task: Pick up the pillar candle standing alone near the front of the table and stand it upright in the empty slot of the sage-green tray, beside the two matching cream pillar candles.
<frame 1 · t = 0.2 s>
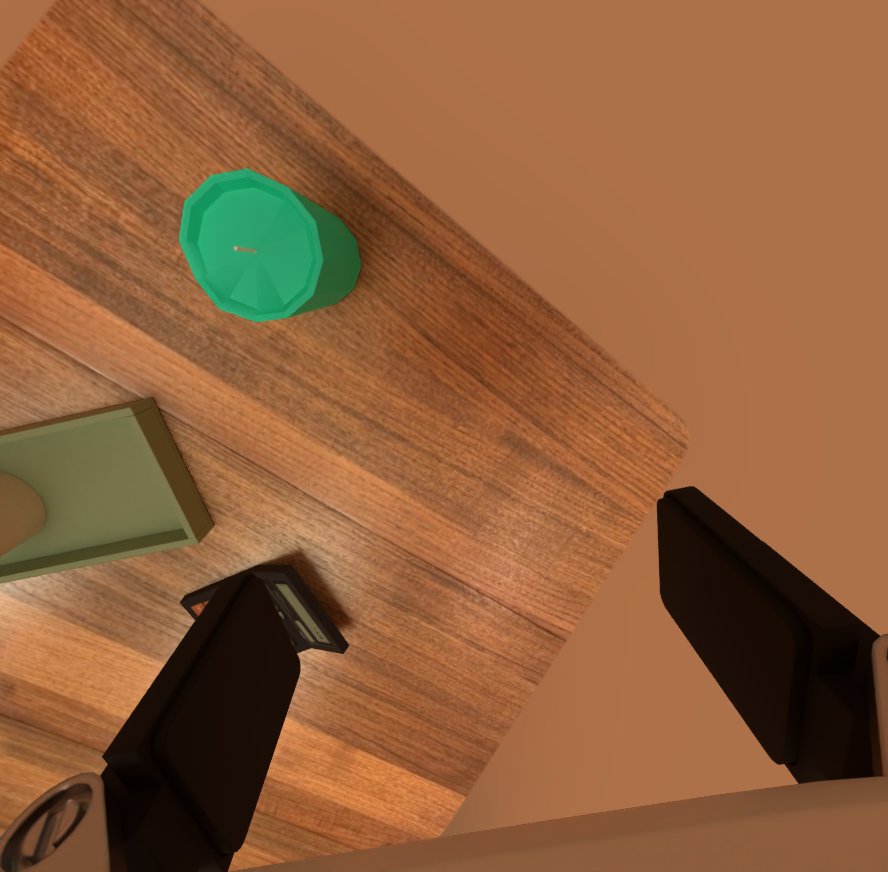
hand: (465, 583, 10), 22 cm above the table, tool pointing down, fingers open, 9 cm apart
tray: (34, 497, 33), on the table
calculator: (272, 608, 38), on the table
cream candle b: (5, 505, 33), resting on tray
candle: (316, 259, 28), on the table
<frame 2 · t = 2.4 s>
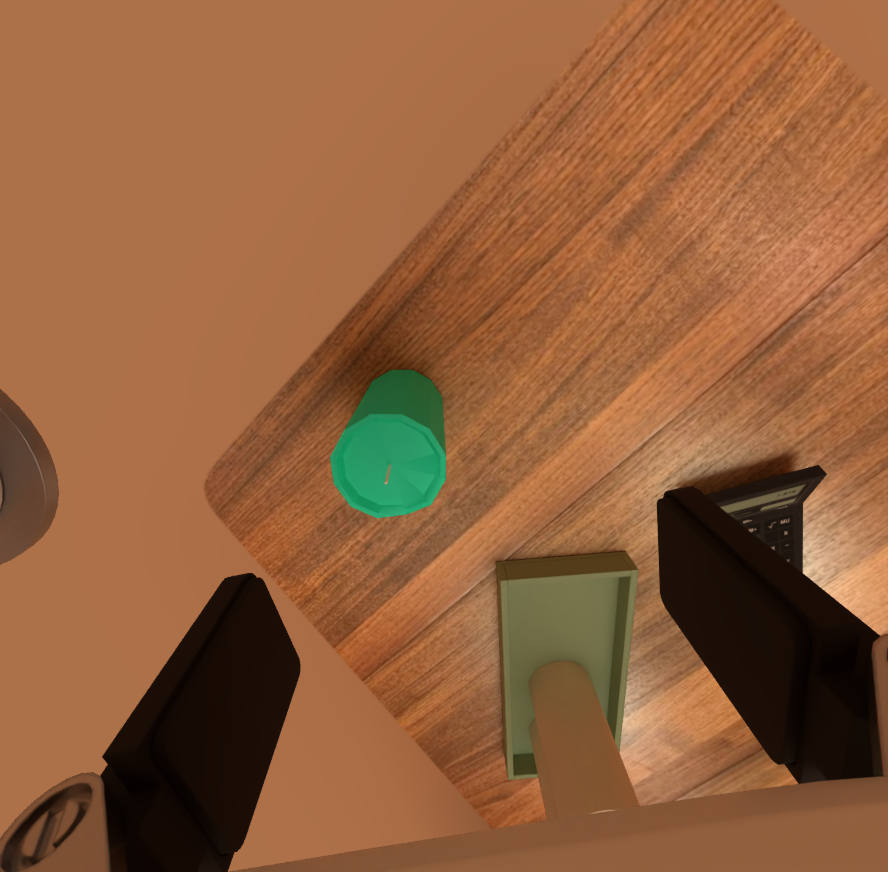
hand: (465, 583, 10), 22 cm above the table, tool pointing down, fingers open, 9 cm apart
cream candle a: (558, 728, 44), resting on tray
tray: (558, 663, 41), on the table
calculator: (736, 527, 36), on the table
cream candle b: (559, 683, 41), resting on tray
candle: (403, 407, 32), on the table
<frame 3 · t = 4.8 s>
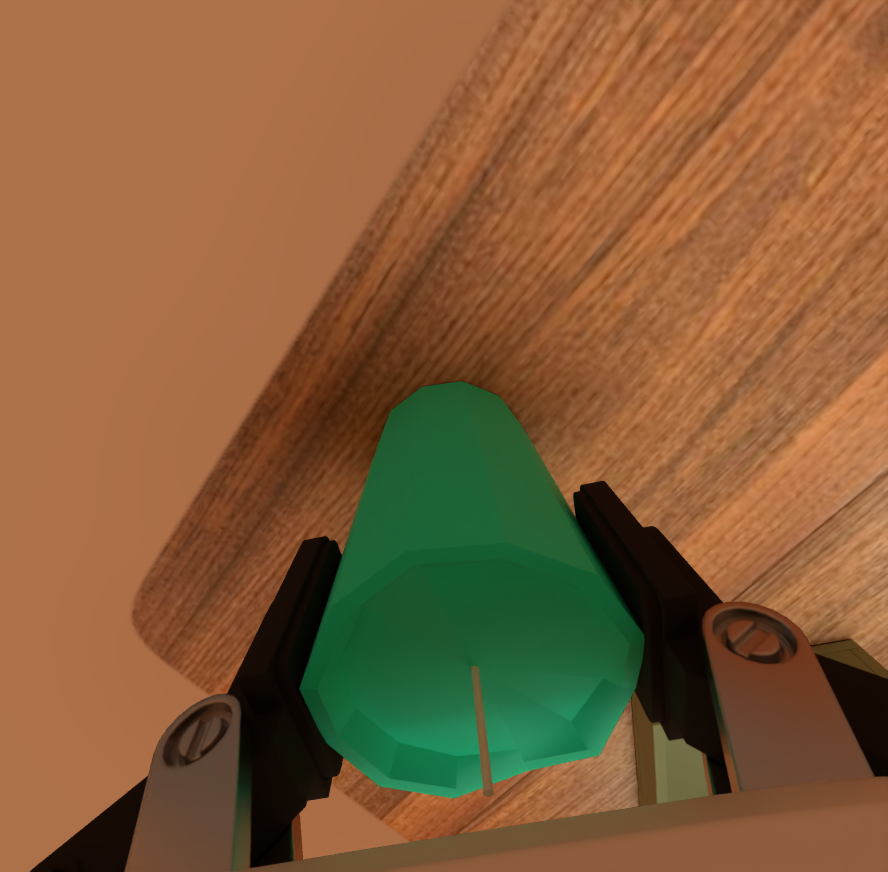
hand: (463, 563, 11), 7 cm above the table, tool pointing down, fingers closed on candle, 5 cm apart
tray: (731, 806, 26), on the table
candle: (451, 451, 17), on the table, touching gripper
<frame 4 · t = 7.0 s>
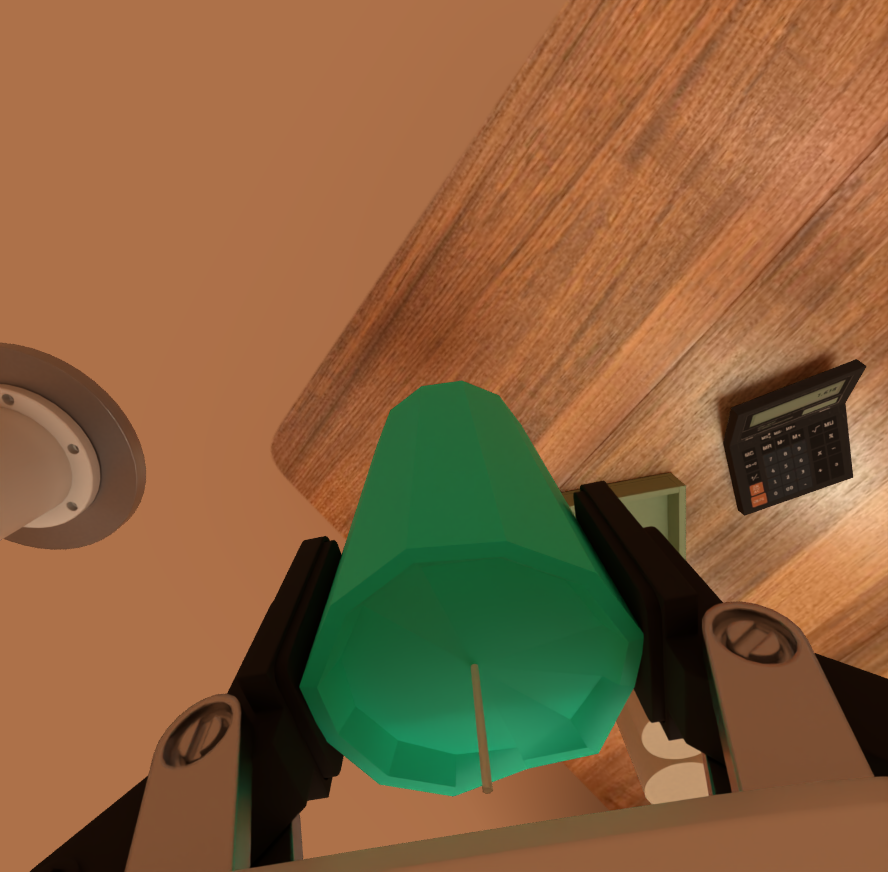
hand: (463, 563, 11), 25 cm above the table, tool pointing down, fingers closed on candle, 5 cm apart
cream candle a: (622, 659, 45), resting on tray
tray: (615, 593, 42), on the table
calculator: (779, 436, 37), on the table
cream candle b: (618, 612, 43), resting on tray
candle: (451, 450, 17), point 18 cm above the table, touching gripper
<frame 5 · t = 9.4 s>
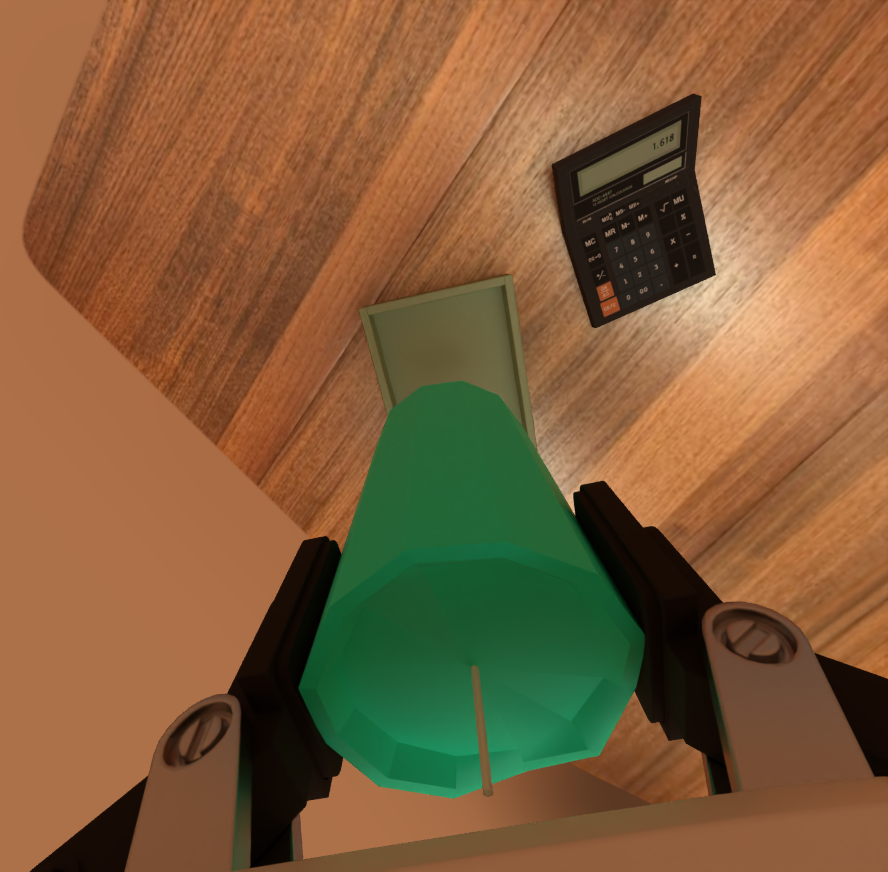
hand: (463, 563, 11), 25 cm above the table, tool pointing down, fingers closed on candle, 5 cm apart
tray: (465, 440, 37), on the table
calculator: (628, 226, 31), on the table
candle: (451, 450, 17), point 18 cm above the table, touching gripper
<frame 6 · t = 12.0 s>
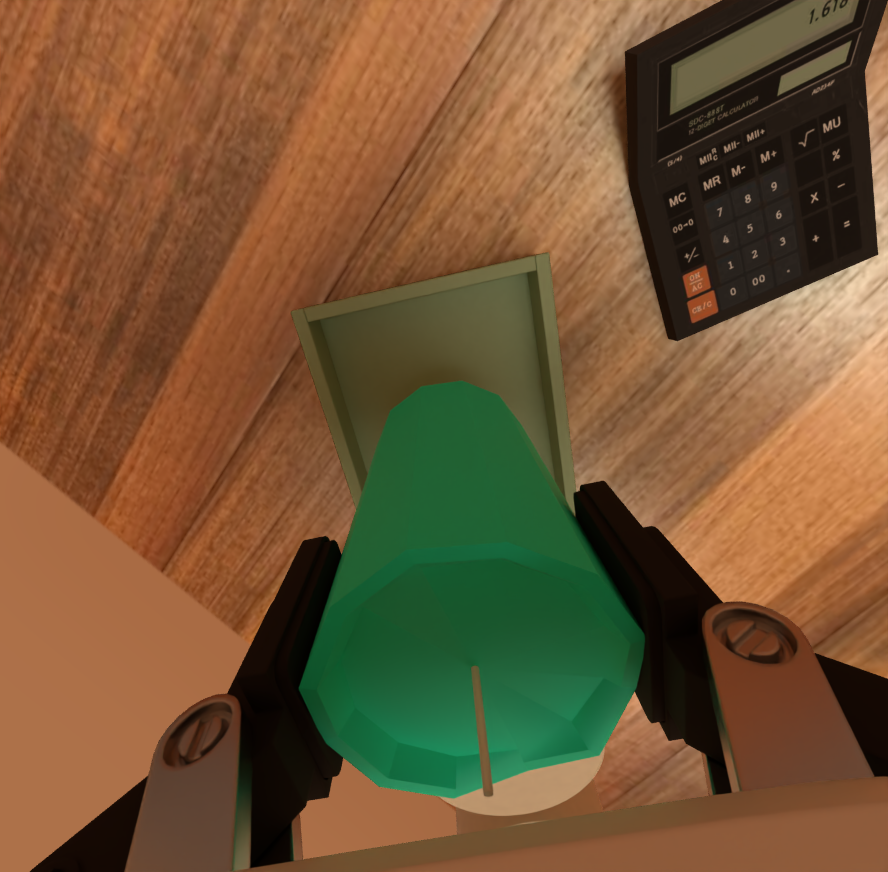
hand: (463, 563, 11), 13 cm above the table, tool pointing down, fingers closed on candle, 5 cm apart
cream candle a: (494, 624, 27), resting on tray
tray: (469, 507, 25), on the table
calculator: (737, 174, 19), on the table
cream candle b: (476, 540, 25), resting on tray
candle: (451, 450, 17), point 6 cm above the table, touching gripper
when the fingers open (7 cm above the table, at t = 13.8 s): candle stays where it is, resting on tray.
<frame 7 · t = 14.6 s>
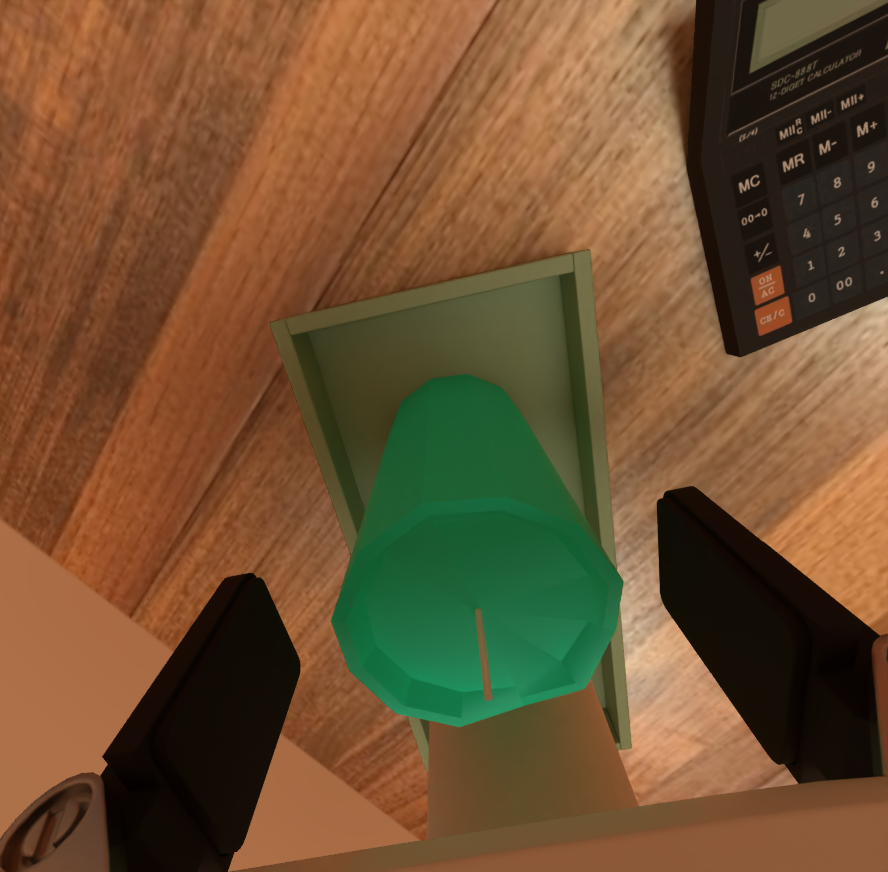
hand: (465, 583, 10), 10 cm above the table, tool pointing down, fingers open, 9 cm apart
tray: (483, 547, 21), on the table
calculator: (821, 153, 15), on the table
cream candle b: (491, 586, 21), resting on tray
candle: (457, 439, 19), resting on tray
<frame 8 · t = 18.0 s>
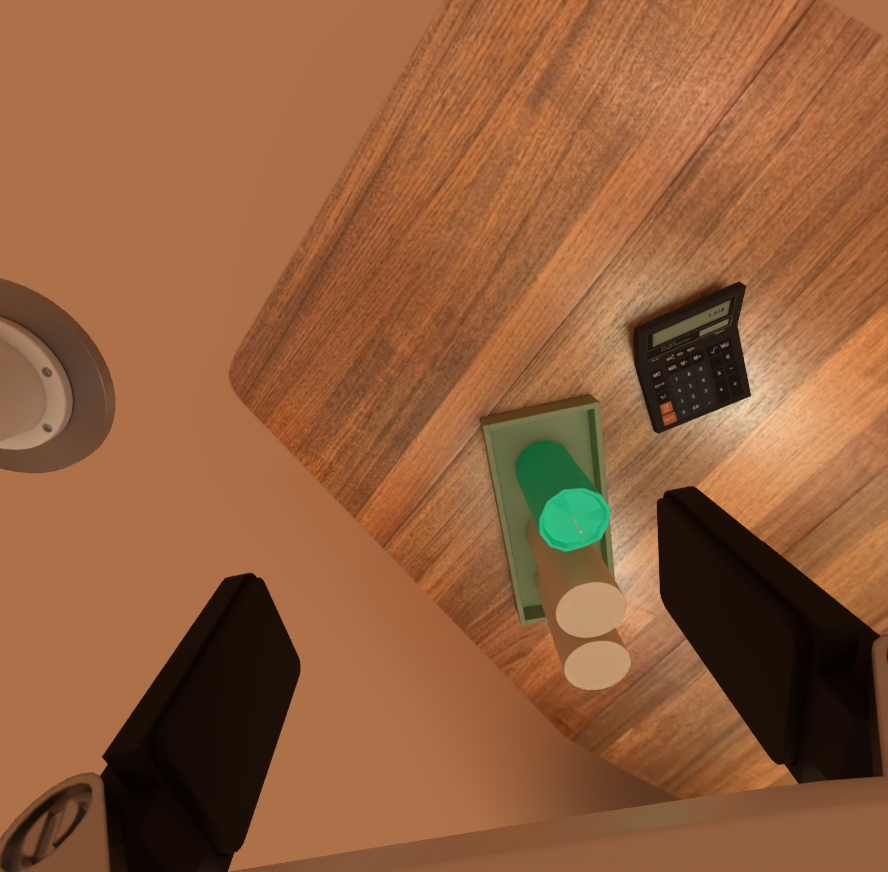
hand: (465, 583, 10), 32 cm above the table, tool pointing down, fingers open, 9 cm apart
cream candle a: (559, 577, 49), resting on tray
tray: (550, 513, 47), on the table
calculator: (684, 360, 41), on the table
cream candle b: (553, 530, 47), resting on tray
candle: (542, 465, 44), resting on tray
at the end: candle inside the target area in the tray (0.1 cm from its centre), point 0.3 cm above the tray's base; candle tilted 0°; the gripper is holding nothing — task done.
